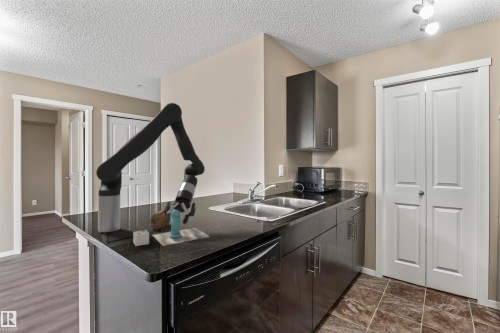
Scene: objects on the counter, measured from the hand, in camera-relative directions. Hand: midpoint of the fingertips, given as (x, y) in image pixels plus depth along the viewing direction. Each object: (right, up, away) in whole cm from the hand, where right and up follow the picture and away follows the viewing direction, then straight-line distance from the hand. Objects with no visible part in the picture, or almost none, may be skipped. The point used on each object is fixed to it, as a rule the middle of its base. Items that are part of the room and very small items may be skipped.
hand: (175, 222), depth 108 cm
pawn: (0, -6, +1) cm, 6 cm away
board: (+2, -7, +2) cm, 7 cm away
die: (-11, -7, -8) cm, 16 cm away
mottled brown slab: (-13, -7, +17) cm, 22 cm away
